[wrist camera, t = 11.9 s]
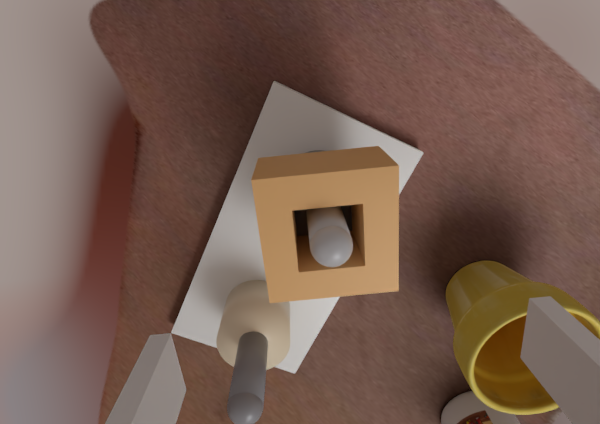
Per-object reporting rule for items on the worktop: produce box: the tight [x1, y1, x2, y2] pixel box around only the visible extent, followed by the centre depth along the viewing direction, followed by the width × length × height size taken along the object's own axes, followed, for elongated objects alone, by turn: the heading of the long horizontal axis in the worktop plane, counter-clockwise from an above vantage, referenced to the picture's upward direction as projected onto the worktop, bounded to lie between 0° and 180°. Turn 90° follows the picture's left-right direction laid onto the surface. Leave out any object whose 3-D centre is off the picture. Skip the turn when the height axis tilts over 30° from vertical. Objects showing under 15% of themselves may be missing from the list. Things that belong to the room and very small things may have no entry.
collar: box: [251, 146, 399, 303], centre depth 24 cm, size 8×8×5 cm
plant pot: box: [446, 261, 600, 415], centre depth 32 cm, size 10×10×10 cm
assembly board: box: [171, 81, 423, 424], centre depth 28 cm, size 25×13×13 cm, turn 155°
